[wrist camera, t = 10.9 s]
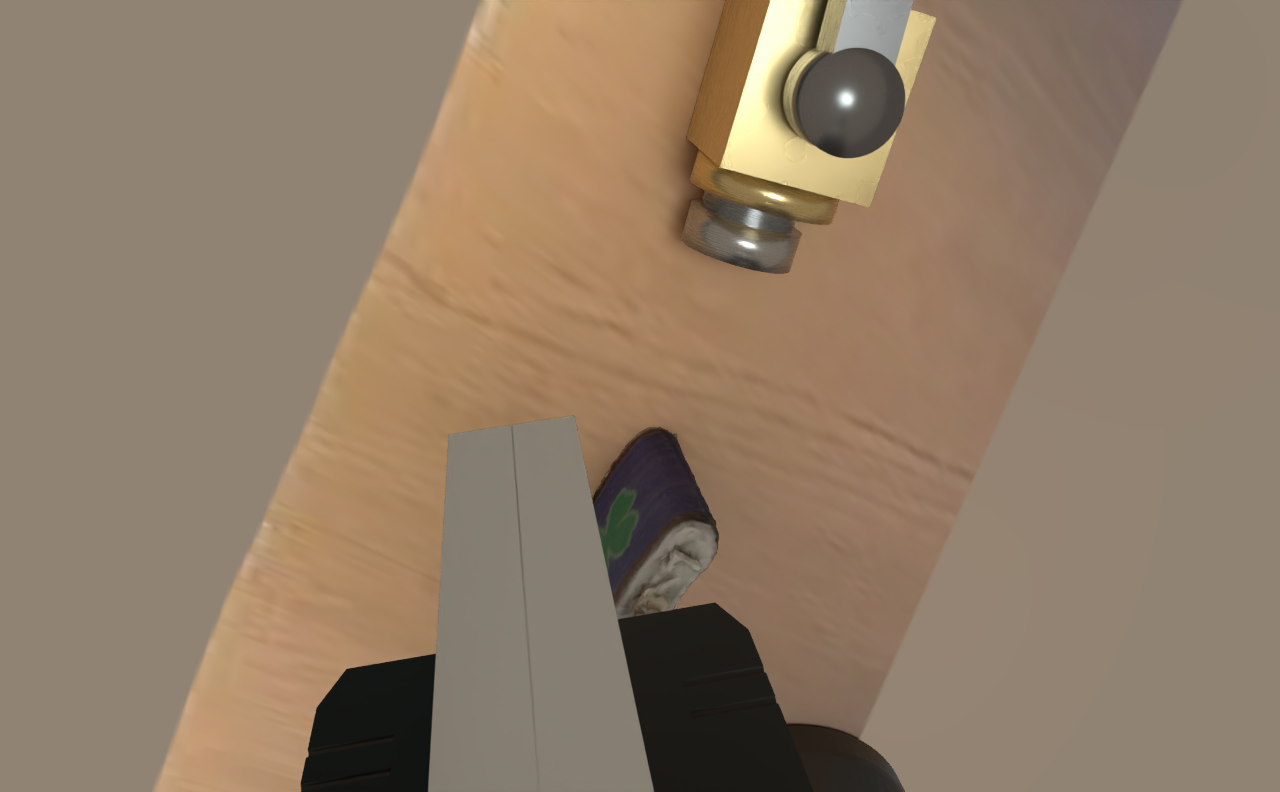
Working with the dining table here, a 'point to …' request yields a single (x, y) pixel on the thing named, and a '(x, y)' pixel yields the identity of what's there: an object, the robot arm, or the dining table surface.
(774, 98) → the pipe valve
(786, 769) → the robot arm
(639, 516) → the flask
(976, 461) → the dining table surface
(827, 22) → the lever
